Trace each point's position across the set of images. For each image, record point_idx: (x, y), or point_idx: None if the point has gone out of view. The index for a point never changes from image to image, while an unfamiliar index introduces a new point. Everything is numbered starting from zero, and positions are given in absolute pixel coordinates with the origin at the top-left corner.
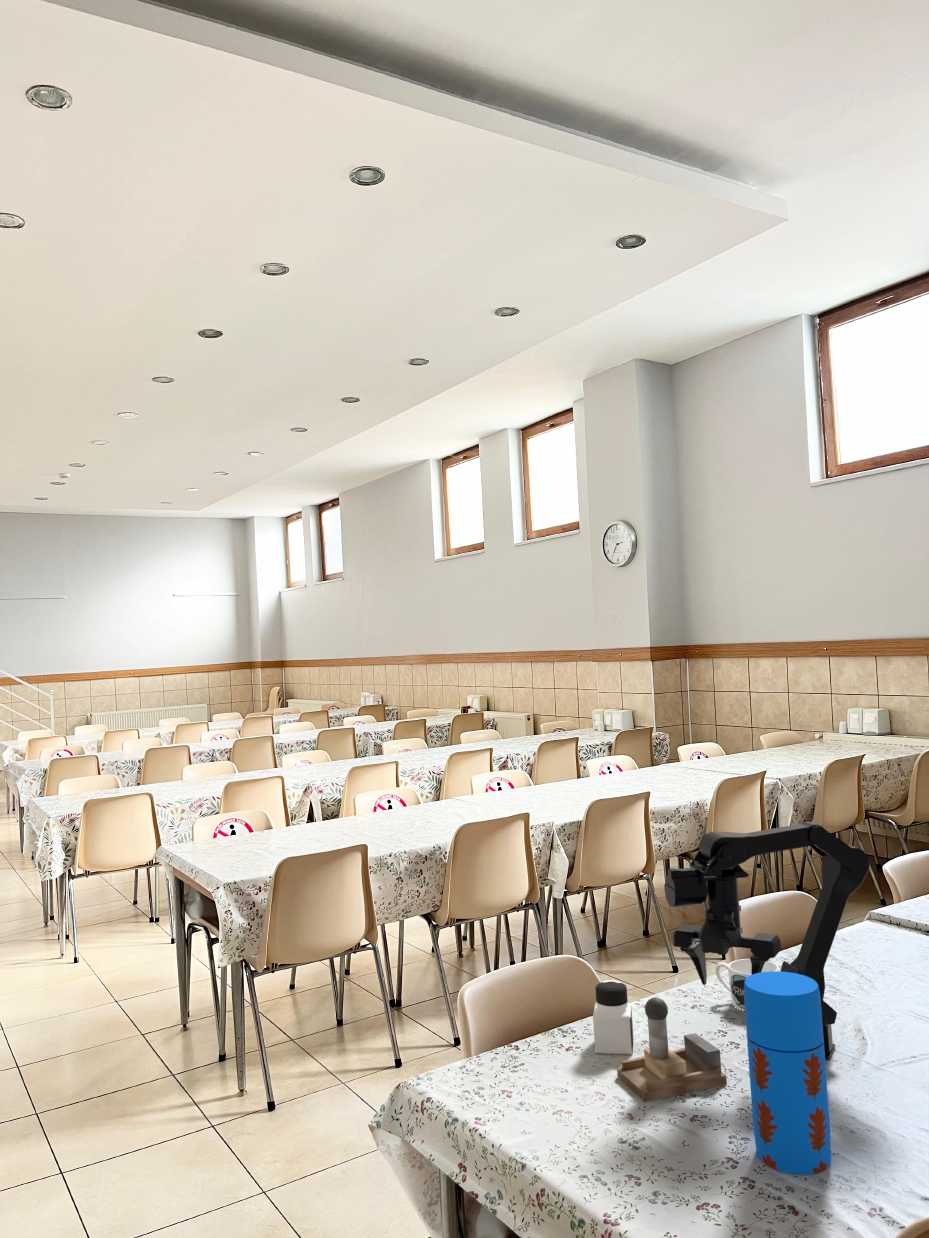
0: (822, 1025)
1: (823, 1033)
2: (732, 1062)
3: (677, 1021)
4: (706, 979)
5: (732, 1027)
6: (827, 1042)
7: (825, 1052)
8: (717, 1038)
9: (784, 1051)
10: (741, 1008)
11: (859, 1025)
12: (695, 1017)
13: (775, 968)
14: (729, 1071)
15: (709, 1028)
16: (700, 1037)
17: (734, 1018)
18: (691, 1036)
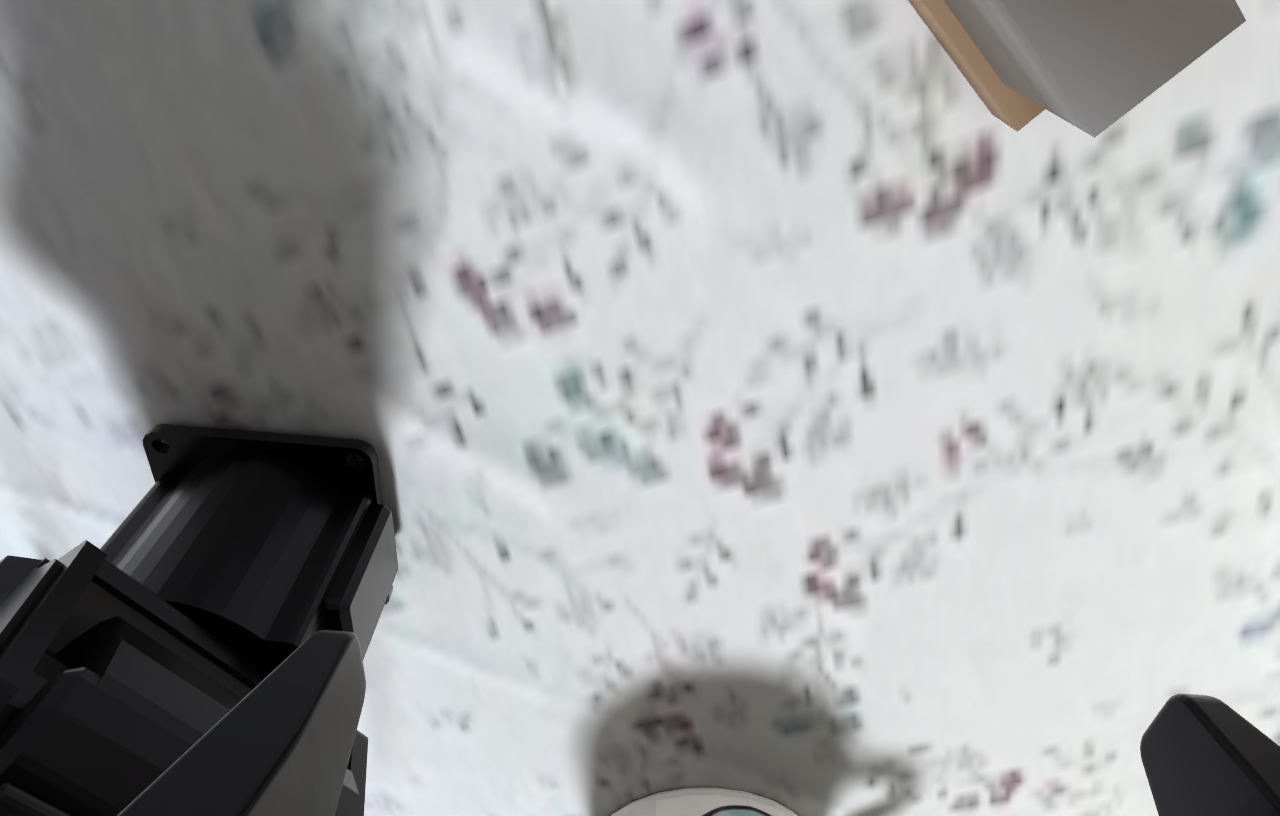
0: (7, 561)
1: (114, 560)
2: (710, 195)
3: (1105, 636)
4: (1159, 806)
5: (781, 645)
6: (127, 521)
7: (179, 478)
8: (854, 507)
9: None
10: (760, 806)
11: None
12: (996, 696)
13: None
14: (706, 17)
15: (911, 606)
16: (1038, 26)
17: (784, 728)
18: (1149, 21)
